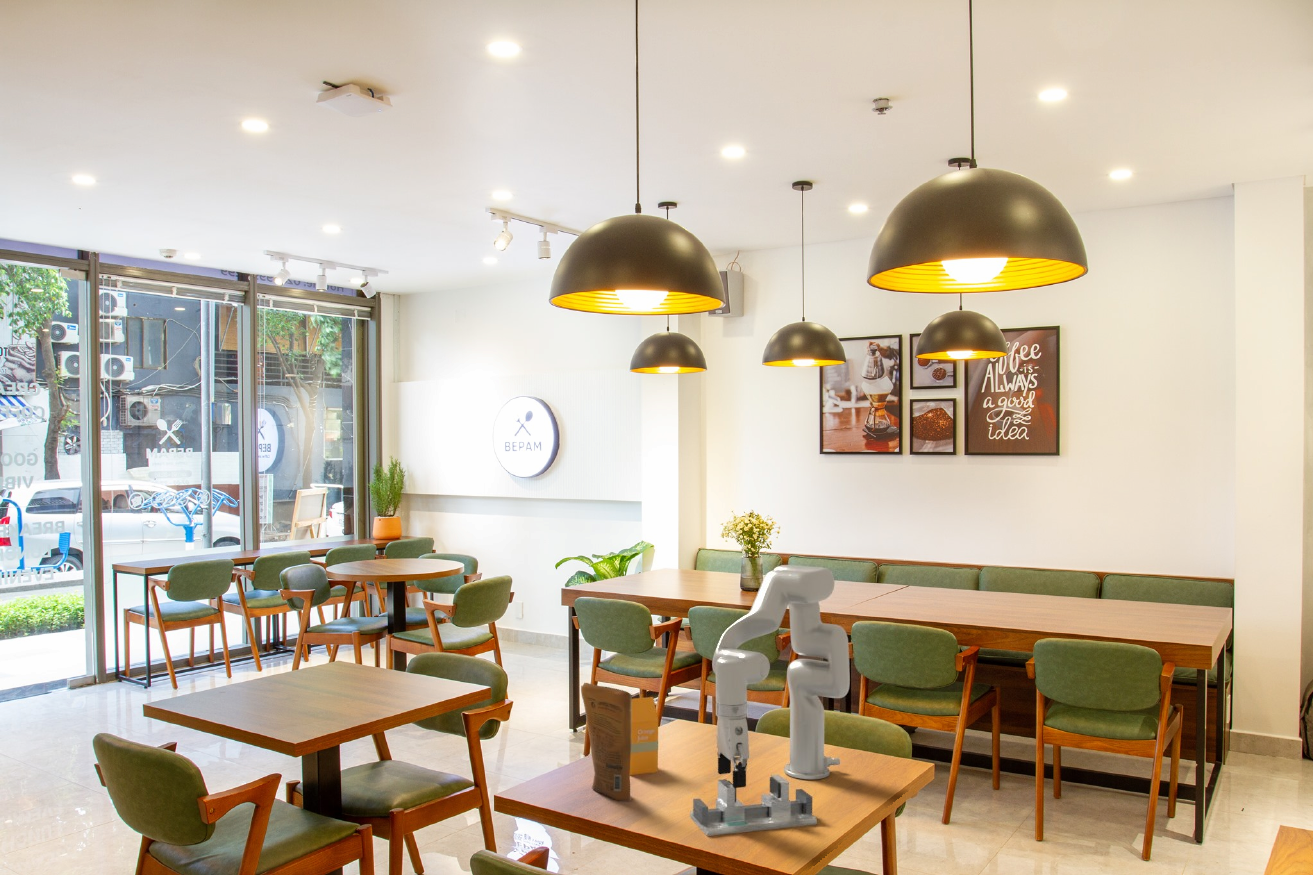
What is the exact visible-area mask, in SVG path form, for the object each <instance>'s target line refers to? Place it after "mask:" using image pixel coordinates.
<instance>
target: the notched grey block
mask: <svg viewBox="0 0 1313 875" xmlns="http://www.w3.org/2000/svg"><path fill="white" fill-rule="evenodd" d="M745 806H746V805H745V804H744V803H742V802H741V801H740V800H739V799H738V798H737V788H734V787H733V782H732V781H730V780H727V778H725V779H717V798H715V808H719V809H720V810H721V811H722V812H723V821H724V822H734V821H744V812H745Z"/></svg>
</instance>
